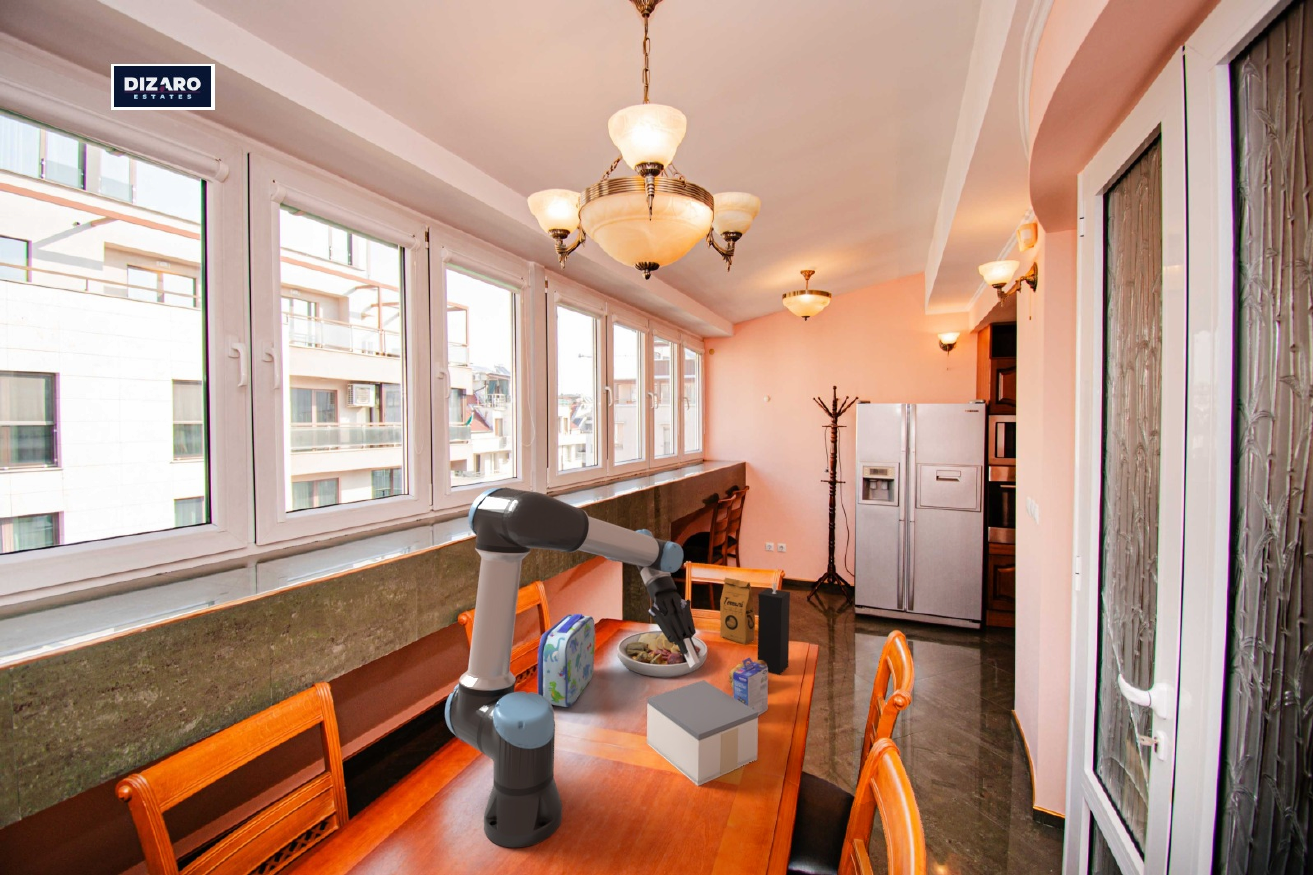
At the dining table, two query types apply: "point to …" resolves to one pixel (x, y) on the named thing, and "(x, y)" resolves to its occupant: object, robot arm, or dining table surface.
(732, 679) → the bread roll
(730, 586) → the coffee package
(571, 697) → the lunch box
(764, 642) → the black pillar candle
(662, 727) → the storage box
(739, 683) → the ink cartridge box
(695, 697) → the box lid
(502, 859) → the dining table surface
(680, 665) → the bowl
